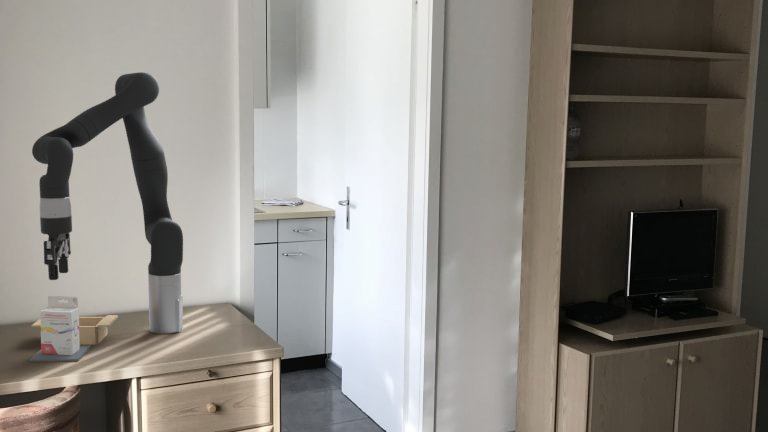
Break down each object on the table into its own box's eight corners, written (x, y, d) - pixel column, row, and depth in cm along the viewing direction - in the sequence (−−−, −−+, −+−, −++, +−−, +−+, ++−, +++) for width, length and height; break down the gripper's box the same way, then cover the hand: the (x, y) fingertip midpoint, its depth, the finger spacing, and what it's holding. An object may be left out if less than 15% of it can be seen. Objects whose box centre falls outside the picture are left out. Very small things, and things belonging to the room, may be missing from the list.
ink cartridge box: (40, 354, 206) (38, 299, 204) (49, 348, 211) (47, 295, 209) (72, 355, 206) (71, 300, 204) (80, 349, 210) (79, 296, 209)
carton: (118, 333, 228) (118, 315, 228) (109, 344, 218) (108, 325, 217) (44, 333, 226) (44, 315, 226) (32, 344, 216) (31, 325, 215)
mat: (90, 347, 215) (90, 345, 215) (78, 361, 203) (78, 359, 203) (45, 347, 214) (45, 345, 214) (29, 361, 202) (29, 359, 202)
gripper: (62, 218, 196) (65, 282, 199) (78, 210, 210) (81, 270, 213) (31, 218, 196) (34, 282, 198) (49, 211, 210) (52, 270, 212)
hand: (58, 276), depth 205 cm, fingers open, 8 cm apart
